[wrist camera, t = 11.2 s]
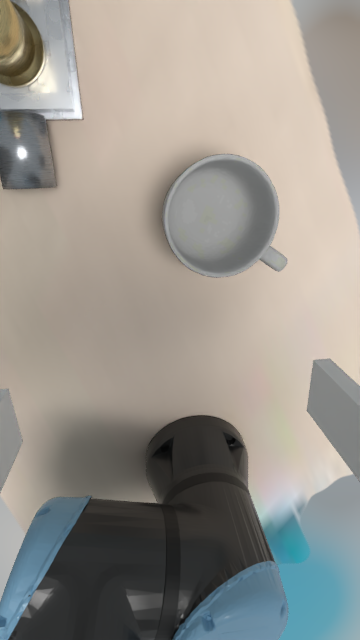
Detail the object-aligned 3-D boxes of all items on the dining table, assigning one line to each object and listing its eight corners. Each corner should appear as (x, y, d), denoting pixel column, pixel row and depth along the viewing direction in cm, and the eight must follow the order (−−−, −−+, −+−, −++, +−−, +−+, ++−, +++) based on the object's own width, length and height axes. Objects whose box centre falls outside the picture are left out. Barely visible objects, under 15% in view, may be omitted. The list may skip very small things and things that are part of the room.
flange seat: (91, 185, 35) (85, 186, 31) (-19, 189, 34) (-42, 190, 30) (65, -29, 29) (52, -67, 24) (-73, -33, 28) (-112, -73, 23)
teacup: (138, 212, 37) (139, 220, 30) (210, 135, 35) (230, 123, 28) (221, 295, 42) (239, 320, 35) (288, 231, 40) (323, 243, 32)
